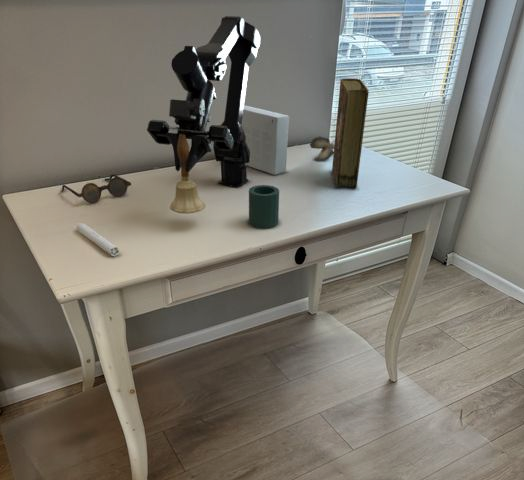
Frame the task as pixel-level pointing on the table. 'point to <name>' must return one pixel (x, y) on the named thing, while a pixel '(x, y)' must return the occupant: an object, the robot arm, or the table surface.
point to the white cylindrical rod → (98, 239)
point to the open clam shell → (323, 148)
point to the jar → (263, 206)
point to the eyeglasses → (93, 192)
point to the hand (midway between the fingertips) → (181, 171)
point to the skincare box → (266, 139)
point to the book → (349, 132)
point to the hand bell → (185, 184)
